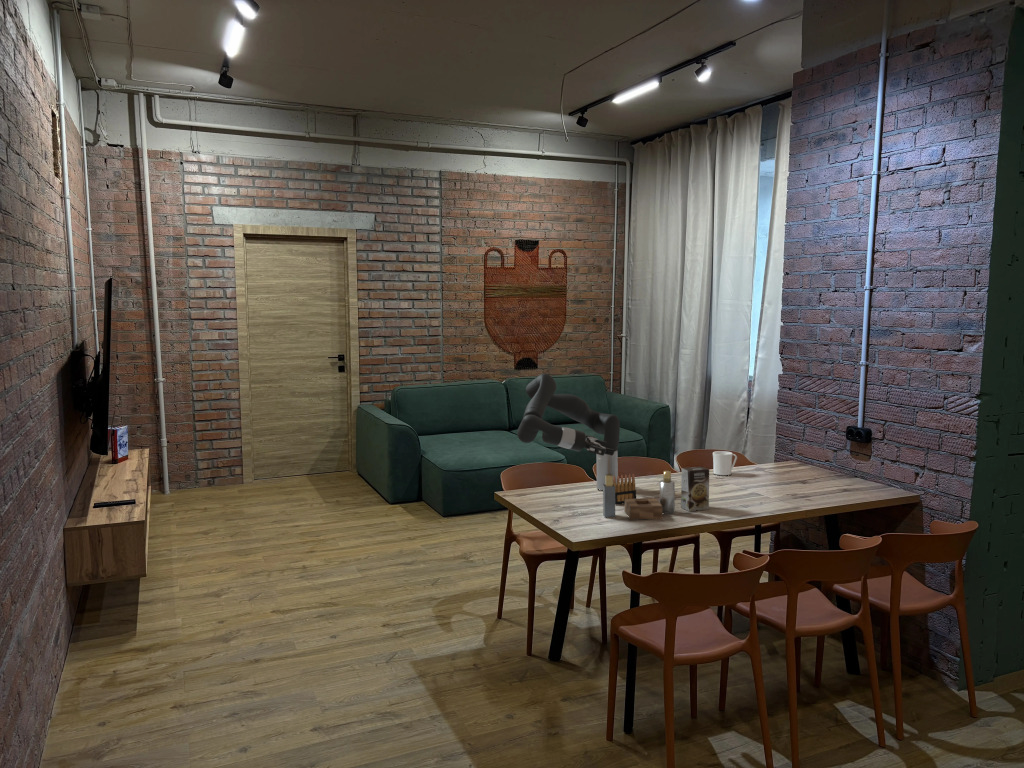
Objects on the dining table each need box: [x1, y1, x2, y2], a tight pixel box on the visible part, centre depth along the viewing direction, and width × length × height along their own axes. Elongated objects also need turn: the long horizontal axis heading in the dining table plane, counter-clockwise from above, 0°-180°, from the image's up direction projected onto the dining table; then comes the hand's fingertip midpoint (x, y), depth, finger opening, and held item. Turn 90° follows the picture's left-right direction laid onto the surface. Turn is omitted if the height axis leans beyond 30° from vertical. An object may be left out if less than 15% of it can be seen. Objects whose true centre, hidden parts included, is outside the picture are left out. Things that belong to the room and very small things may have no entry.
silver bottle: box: [659, 470, 676, 515], centre depth 278 cm, size 6×6×16 cm
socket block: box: [624, 497, 663, 521], centre depth 275 cm, size 12×12×5 cm
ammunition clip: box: [613, 472, 637, 505], centre depth 292 cm, size 11×2×12 cm, turn 111°
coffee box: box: [680, 466, 710, 512], centre depth 282 cm, size 9×6×16 cm
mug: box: [712, 450, 738, 477], centre depth 339 cm, size 11×9×10 cm
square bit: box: [602, 474, 616, 518], centre depth 274 cm, size 4×4×16 cm
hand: (609, 448), depth 270 cm, fingers open, 8 cm apart
